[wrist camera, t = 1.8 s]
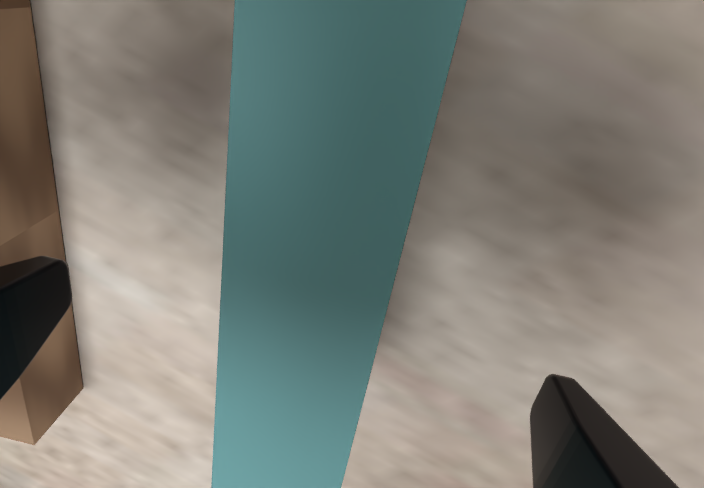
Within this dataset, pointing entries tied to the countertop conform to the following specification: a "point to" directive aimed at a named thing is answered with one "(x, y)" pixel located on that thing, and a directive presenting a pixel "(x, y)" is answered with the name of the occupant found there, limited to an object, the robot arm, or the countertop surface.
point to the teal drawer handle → (317, 220)
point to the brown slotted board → (30, 225)
